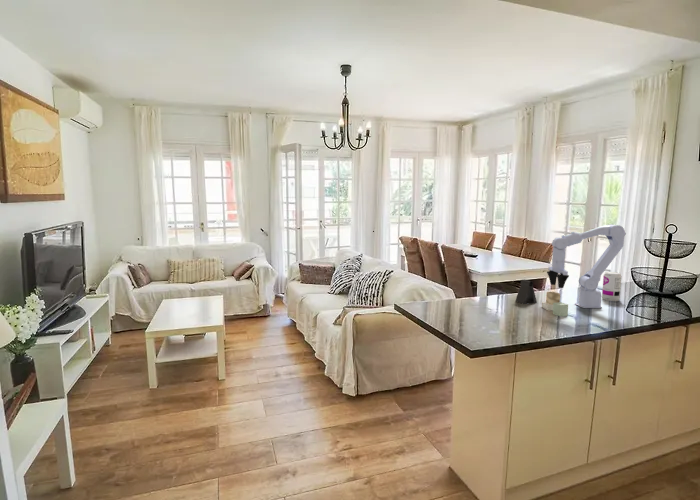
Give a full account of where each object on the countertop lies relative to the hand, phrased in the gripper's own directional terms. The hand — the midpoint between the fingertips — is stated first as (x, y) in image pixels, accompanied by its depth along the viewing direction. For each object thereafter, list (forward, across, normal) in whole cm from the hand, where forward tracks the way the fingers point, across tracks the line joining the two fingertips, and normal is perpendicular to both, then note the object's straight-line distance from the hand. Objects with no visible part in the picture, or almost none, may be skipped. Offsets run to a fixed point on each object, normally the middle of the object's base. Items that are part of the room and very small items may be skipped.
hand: (556, 286), depth 205 cm
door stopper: (+10, -6, -13) cm, 18 cm away
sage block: (+10, +18, -8) cm, 22 cm away
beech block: (+7, +7, -6) cm, 11 cm away
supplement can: (+10, -9, +36) cm, 38 cm away
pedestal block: (+10, +7, -6) cm, 14 cm away
